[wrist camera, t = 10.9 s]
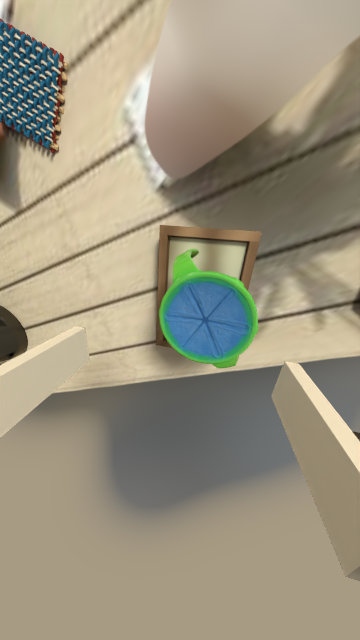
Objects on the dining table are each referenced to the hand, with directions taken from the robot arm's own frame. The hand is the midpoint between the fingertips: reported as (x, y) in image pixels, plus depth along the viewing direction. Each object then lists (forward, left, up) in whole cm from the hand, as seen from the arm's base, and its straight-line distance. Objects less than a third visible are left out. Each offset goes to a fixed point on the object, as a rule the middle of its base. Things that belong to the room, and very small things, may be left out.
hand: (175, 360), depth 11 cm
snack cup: (+3, 0, -18) cm, 18 cm away
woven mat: (-28, +26, -21) cm, 44 cm away
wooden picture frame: (0, 0, -21) cm, 21 cm away
